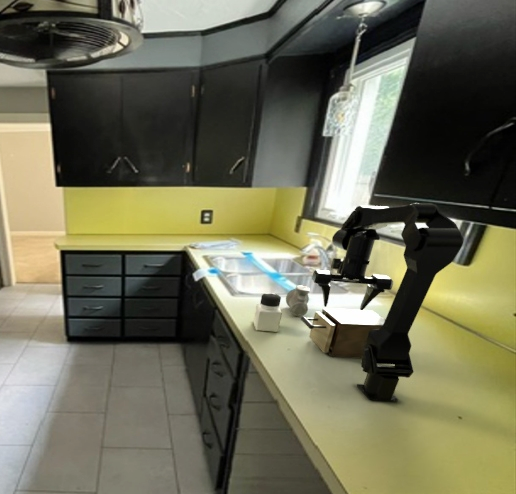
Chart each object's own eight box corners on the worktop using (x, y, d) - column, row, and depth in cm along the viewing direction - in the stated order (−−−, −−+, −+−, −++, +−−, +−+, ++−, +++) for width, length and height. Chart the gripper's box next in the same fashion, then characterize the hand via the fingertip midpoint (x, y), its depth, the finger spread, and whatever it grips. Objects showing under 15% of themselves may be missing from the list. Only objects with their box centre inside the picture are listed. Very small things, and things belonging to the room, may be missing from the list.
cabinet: (331, 356, 107) (341, 323, 103) (314, 338, 118) (322, 308, 114) (383, 359, 106) (396, 325, 101) (361, 341, 117) (371, 310, 113)
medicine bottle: (278, 332, 123) (285, 298, 118) (256, 330, 124) (262, 297, 119) (273, 324, 129) (280, 292, 124) (253, 322, 131) (258, 290, 126)
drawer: (306, 351, 108) (313, 324, 104) (293, 335, 118) (299, 310, 115) (371, 355, 106) (381, 327, 103) (352, 338, 116) (360, 313, 113)
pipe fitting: (283, 304, 147) (290, 281, 142) (304, 308, 145) (313, 285, 140) (283, 317, 138) (292, 293, 132) (306, 322, 135) (316, 297, 130)
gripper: (388, 251, 103) (372, 303, 110) (315, 247, 109) (304, 296, 115) (402, 259, 94) (383, 315, 100) (321, 254, 99) (308, 307, 106)
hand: (342, 308), depth 105 cm, fingers open, 9 cm apart
